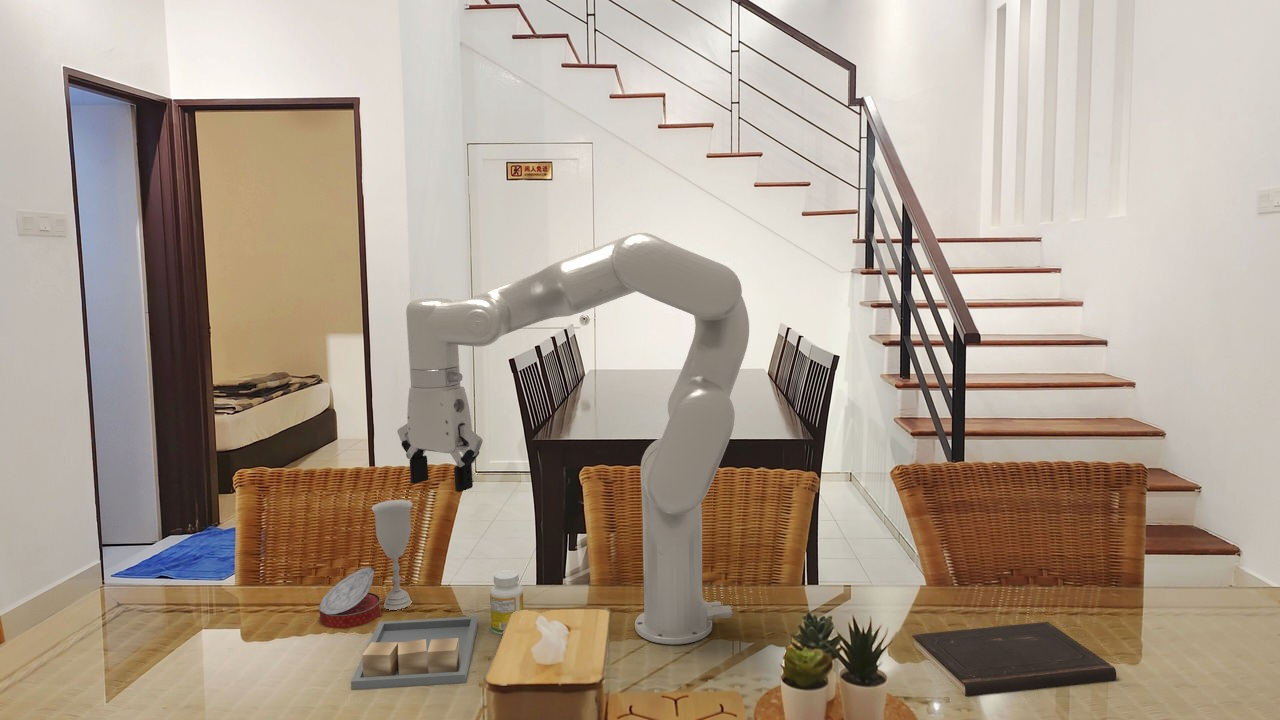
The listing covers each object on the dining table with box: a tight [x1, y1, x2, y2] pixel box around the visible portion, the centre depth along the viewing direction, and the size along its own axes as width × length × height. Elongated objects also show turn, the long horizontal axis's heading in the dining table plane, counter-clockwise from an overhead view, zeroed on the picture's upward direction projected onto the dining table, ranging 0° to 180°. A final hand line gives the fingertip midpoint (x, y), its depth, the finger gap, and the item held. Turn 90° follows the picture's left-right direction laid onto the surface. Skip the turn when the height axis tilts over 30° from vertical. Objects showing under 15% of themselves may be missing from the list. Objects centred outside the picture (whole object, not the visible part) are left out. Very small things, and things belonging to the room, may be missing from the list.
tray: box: [350, 615, 479, 691], centre depth 135 cm, size 16×20×2 cm
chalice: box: [371, 499, 413, 611], centre depth 154 cm, size 7×7×18 cm
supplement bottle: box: [489, 569, 525, 635], centre depth 144 cm, size 5×5×10 cm
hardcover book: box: [911, 621, 1117, 697], centre depth 131 cm, size 16×23×2 cm
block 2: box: [398, 639, 428, 675], centre depth 129 cm, size 4×4×4 cm
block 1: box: [361, 642, 399, 677], centre depth 129 cm, size 4×4×4 cm
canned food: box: [318, 566, 382, 629], centre depth 150 cm, size 11×10×10 cm
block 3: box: [427, 638, 460, 673], centre depth 130 cm, size 4×4×4 cm
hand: (441, 485), depth 139 cm, fingers open, 9 cm apart
